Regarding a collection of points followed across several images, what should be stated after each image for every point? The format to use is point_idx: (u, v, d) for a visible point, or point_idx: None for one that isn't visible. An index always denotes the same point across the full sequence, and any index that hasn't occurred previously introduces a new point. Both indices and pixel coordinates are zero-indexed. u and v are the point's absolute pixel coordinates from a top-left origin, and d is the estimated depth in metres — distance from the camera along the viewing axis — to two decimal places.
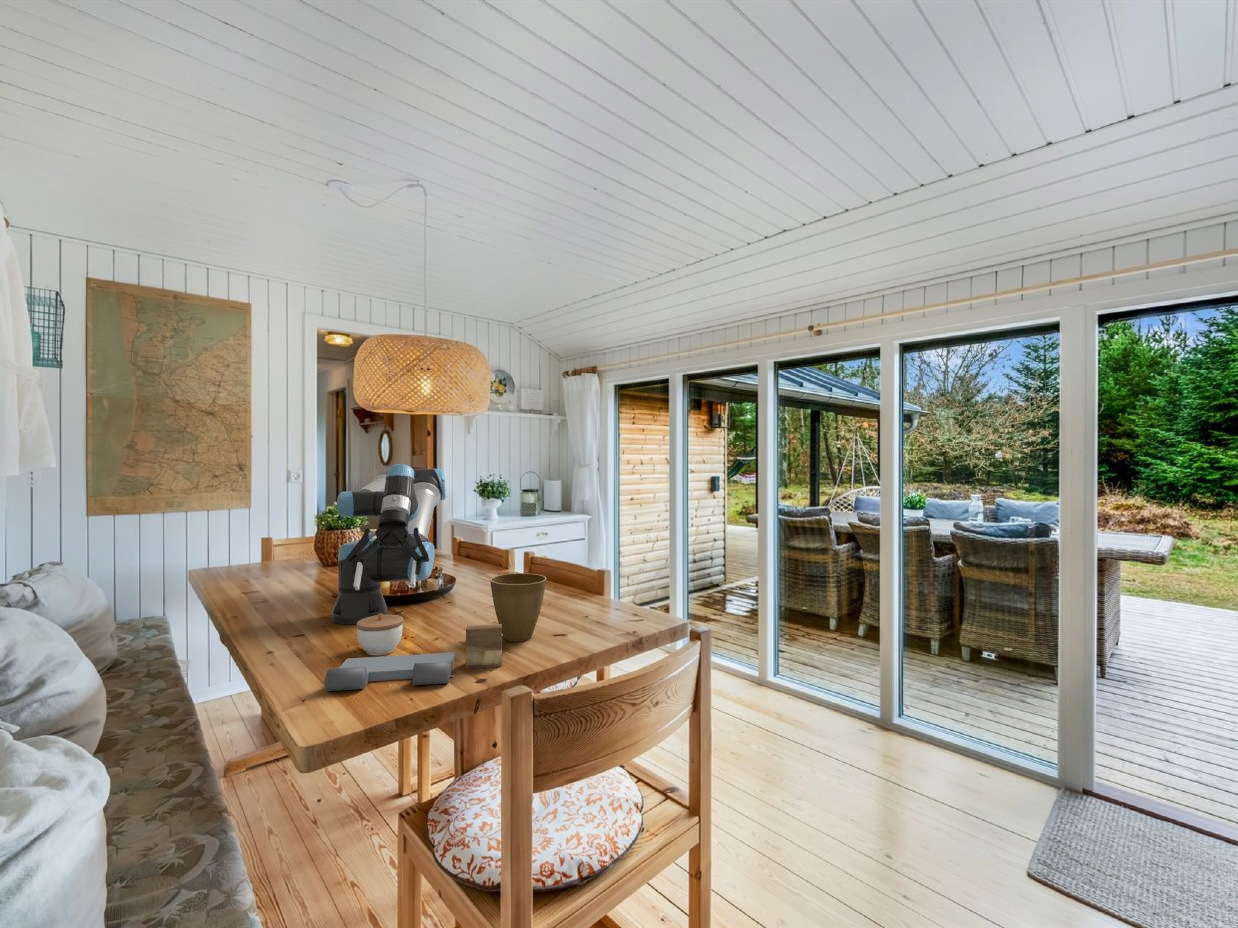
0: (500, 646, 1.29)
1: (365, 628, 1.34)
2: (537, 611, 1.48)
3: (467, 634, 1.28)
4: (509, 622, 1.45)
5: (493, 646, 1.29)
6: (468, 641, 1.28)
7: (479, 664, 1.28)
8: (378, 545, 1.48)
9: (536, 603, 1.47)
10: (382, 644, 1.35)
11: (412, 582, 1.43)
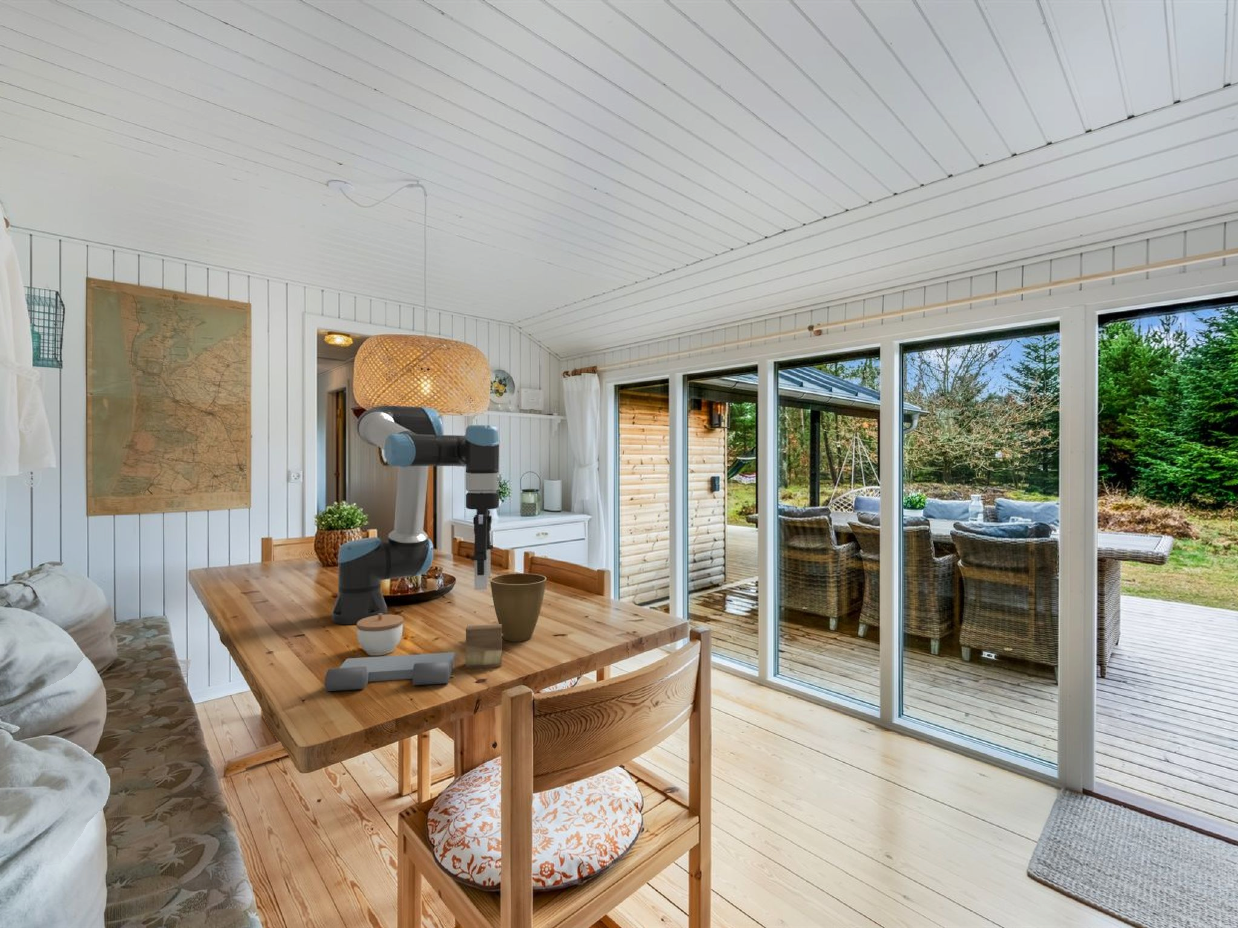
0: (500, 646, 1.29)
1: (365, 628, 1.34)
2: (537, 611, 1.48)
3: (467, 634, 1.28)
4: (509, 622, 1.45)
5: (493, 646, 1.29)
6: (468, 641, 1.28)
7: (479, 664, 1.28)
8: None
9: (536, 603, 1.47)
10: (382, 644, 1.35)
11: None
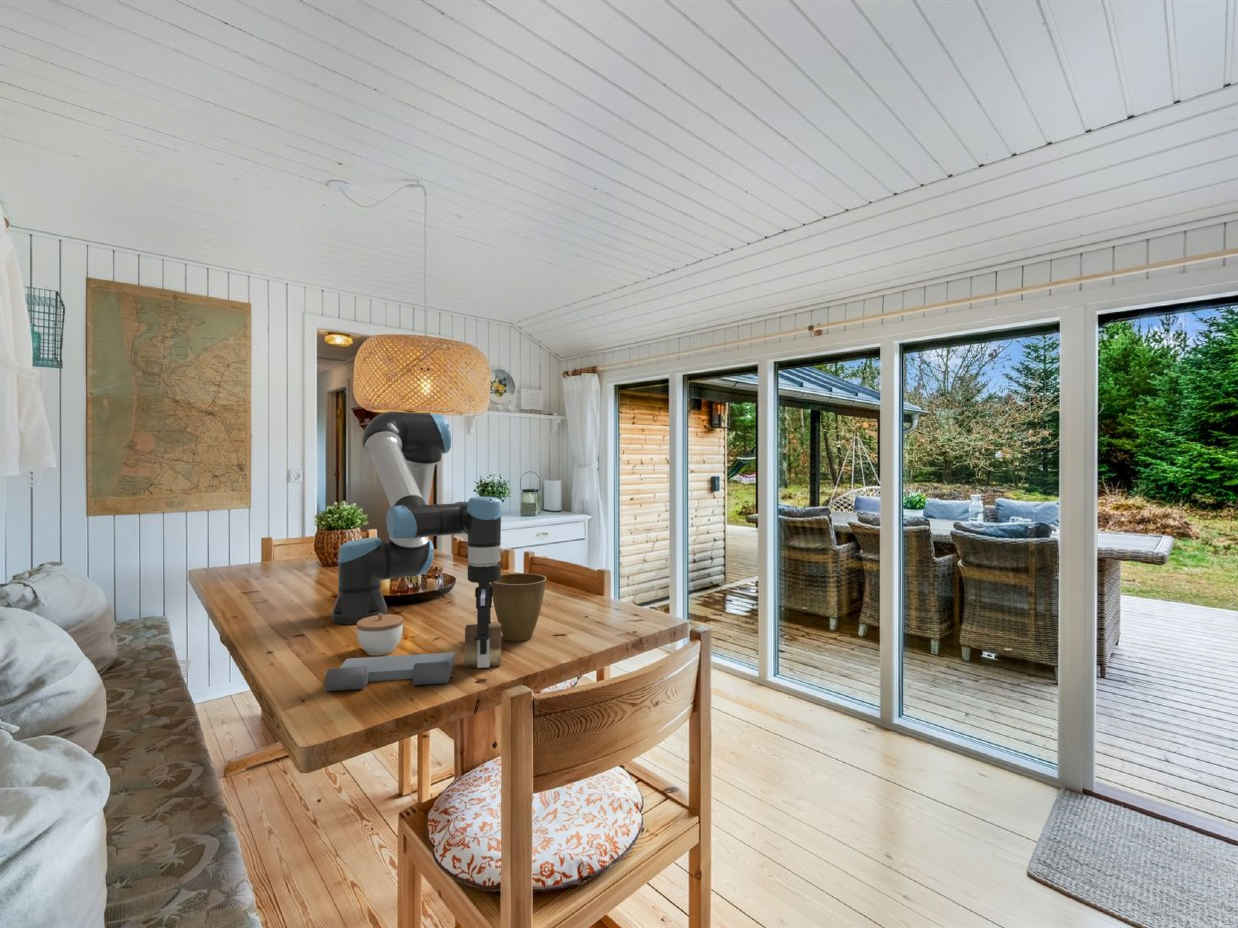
0: (499, 645, 1.29)
1: (365, 628, 1.34)
2: (537, 611, 1.48)
3: (466, 633, 1.28)
4: (509, 622, 1.45)
5: (492, 645, 1.29)
6: (467, 640, 1.28)
7: None
8: None
9: (536, 603, 1.47)
10: (382, 644, 1.35)
11: None
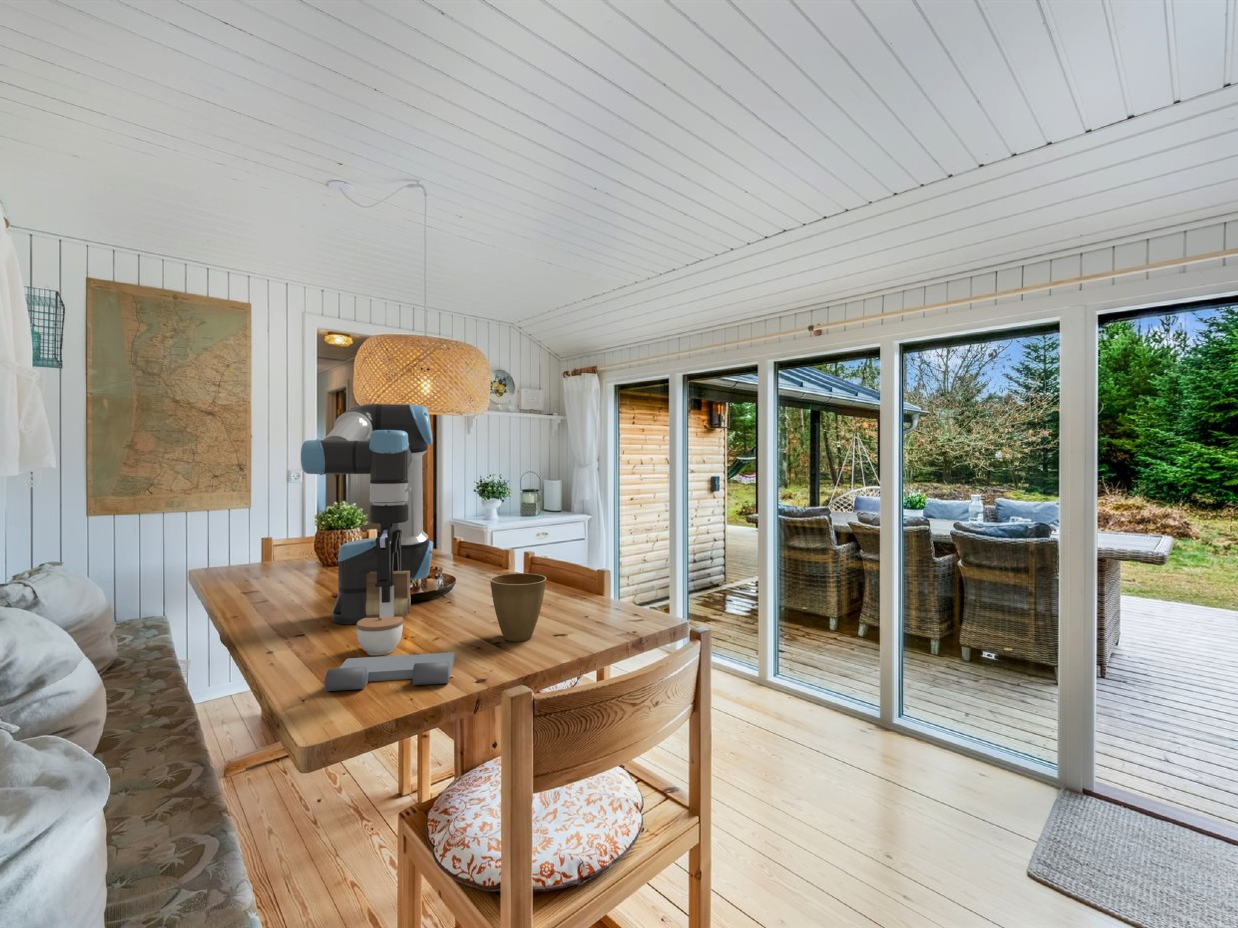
0: (406, 594, 1.17)
1: (365, 628, 1.34)
2: (537, 611, 1.48)
3: (368, 580, 1.15)
4: (509, 622, 1.45)
5: (397, 593, 1.17)
6: (370, 587, 1.16)
7: None
8: None
9: (536, 603, 1.47)
10: (382, 644, 1.35)
11: None
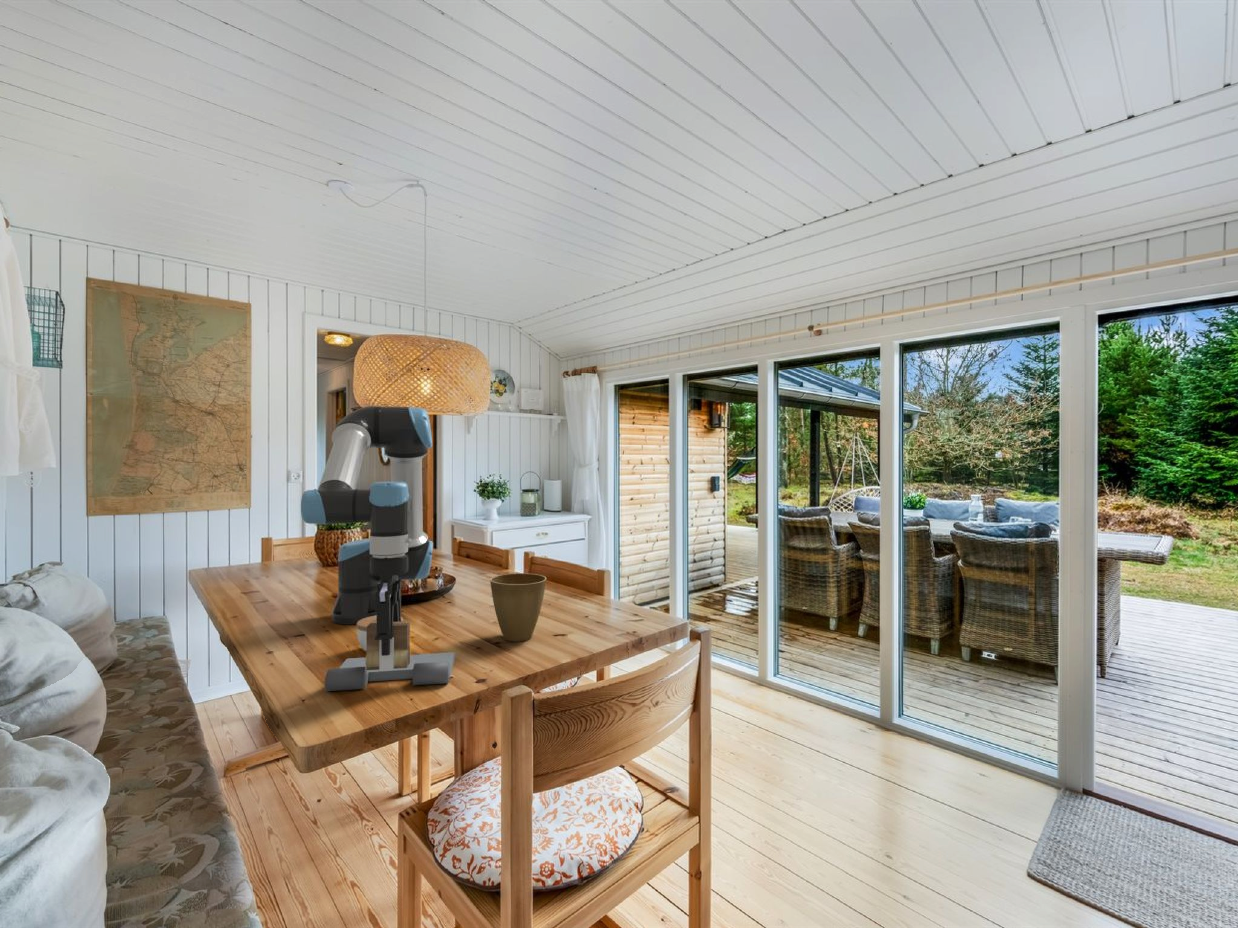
0: (406, 645, 1.17)
1: (365, 628, 1.34)
2: (537, 611, 1.48)
3: (368, 632, 1.16)
4: (509, 622, 1.45)
5: (397, 645, 1.17)
6: (369, 639, 1.16)
7: None
8: None
9: (536, 603, 1.47)
10: None
11: None
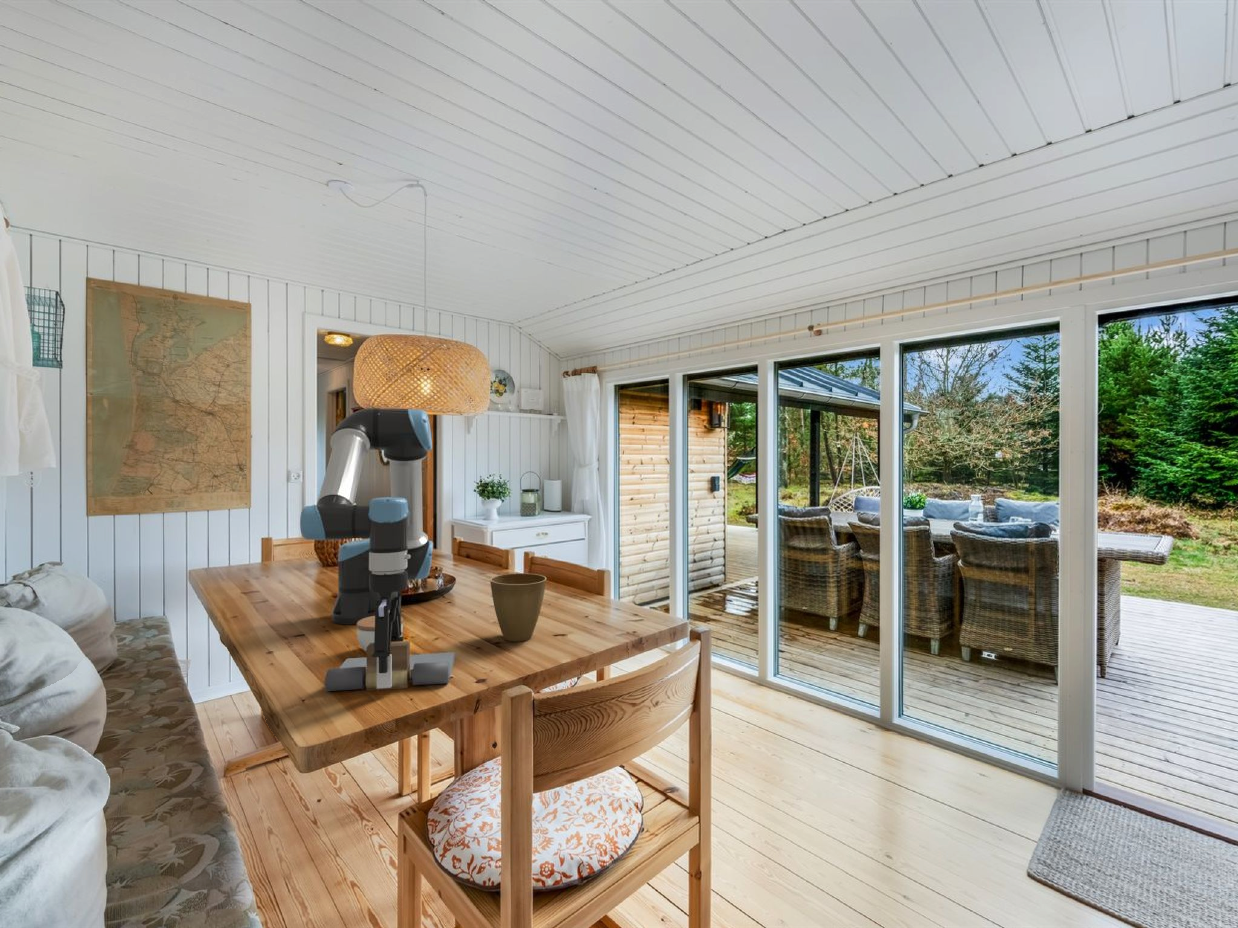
0: (406, 666, 1.17)
1: (365, 628, 1.34)
2: (537, 611, 1.48)
3: (368, 653, 1.16)
4: (509, 622, 1.45)
5: (397, 665, 1.17)
6: (369, 660, 1.16)
7: None
8: None
9: (536, 603, 1.47)
10: None
11: None
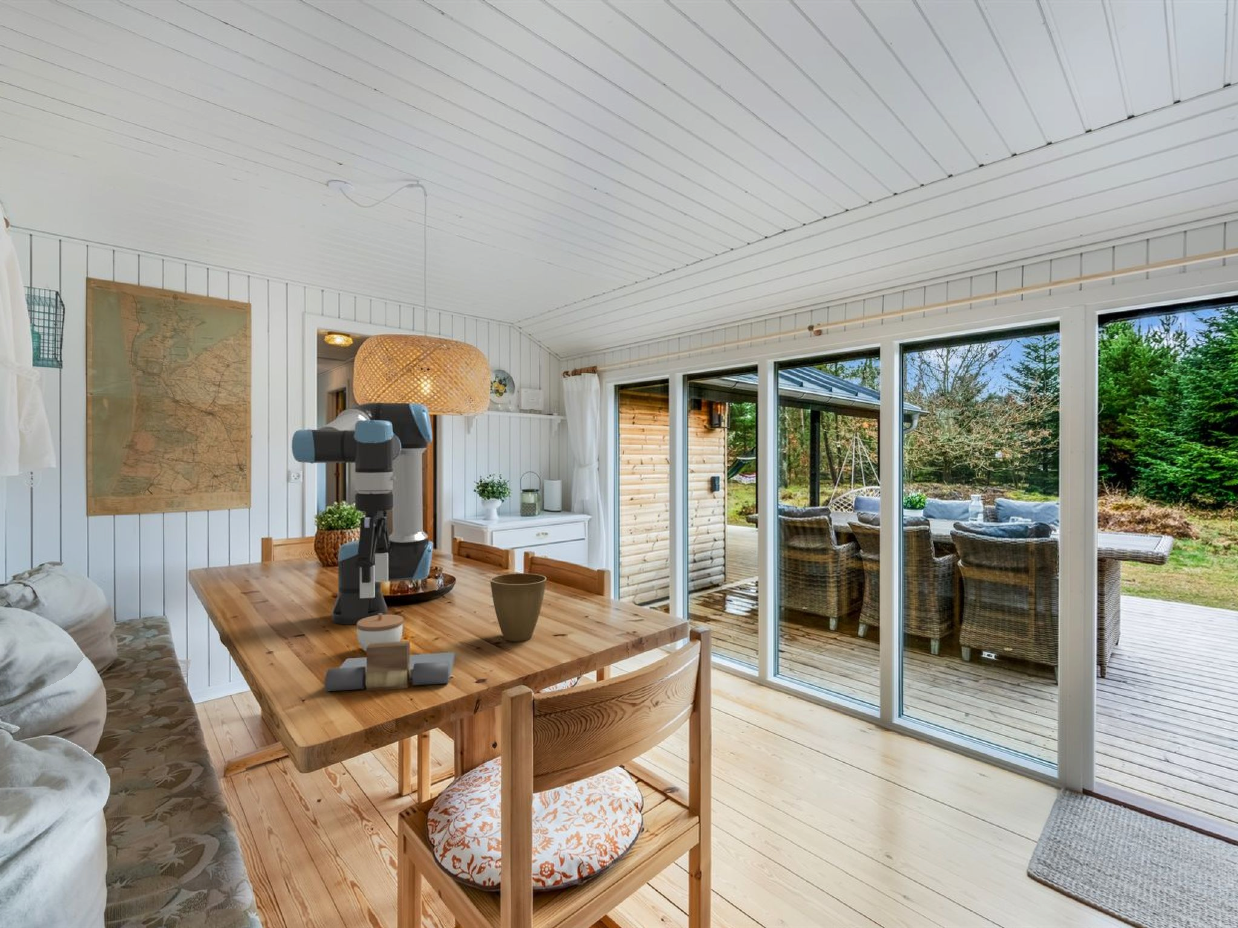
0: (406, 666, 1.17)
1: (365, 628, 1.34)
2: (537, 611, 1.48)
3: (368, 653, 1.16)
4: (509, 622, 1.45)
5: (397, 665, 1.17)
6: (369, 660, 1.16)
7: (381, 686, 1.16)
8: None
9: (536, 603, 1.47)
10: None
11: (387, 579, 1.28)
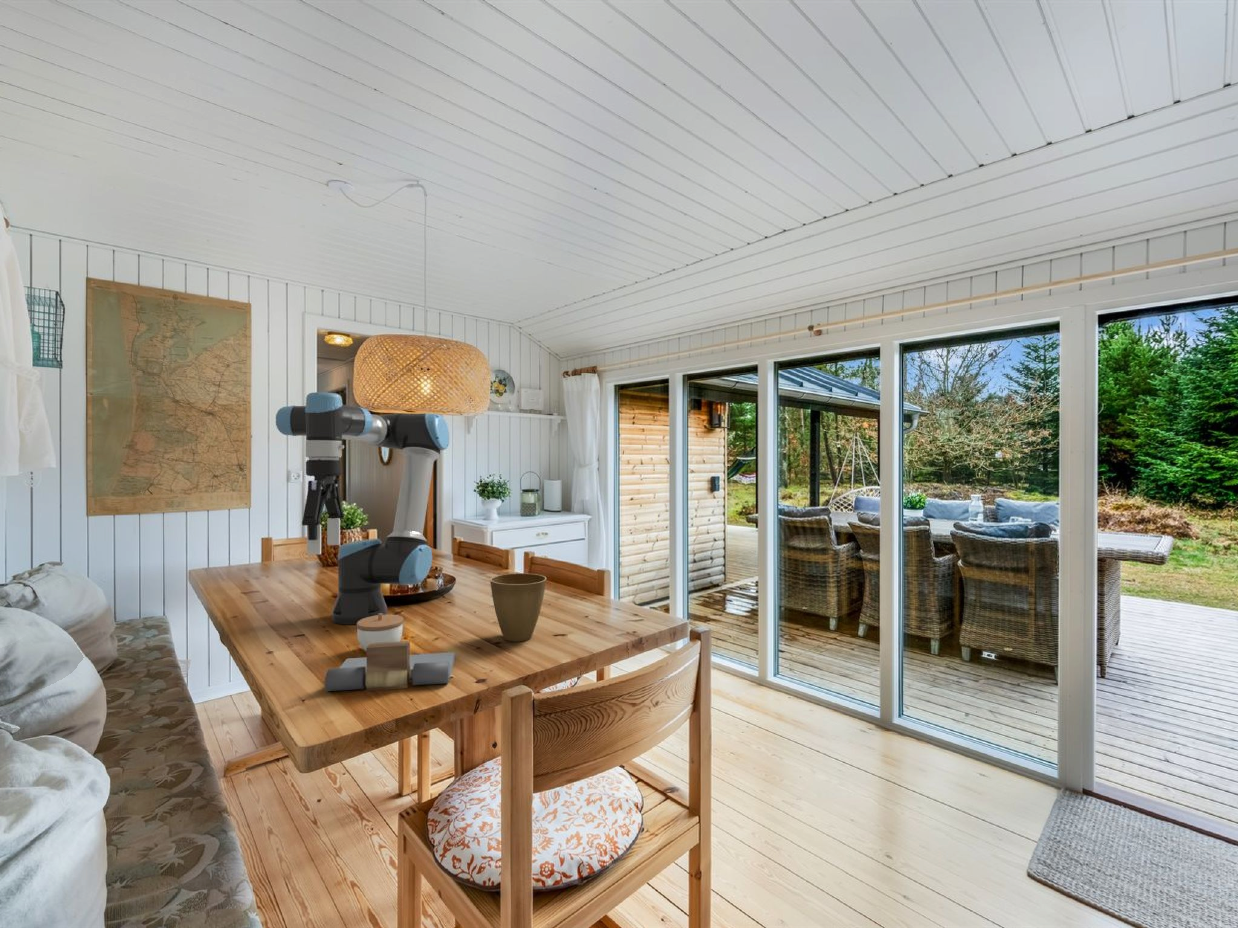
0: (406, 666, 1.17)
1: (365, 628, 1.34)
2: (537, 611, 1.48)
3: (368, 653, 1.16)
4: (509, 622, 1.45)
5: (397, 665, 1.17)
6: (369, 660, 1.16)
7: (381, 686, 1.16)
8: None
9: (536, 603, 1.47)
10: None
11: (339, 543, 1.38)
